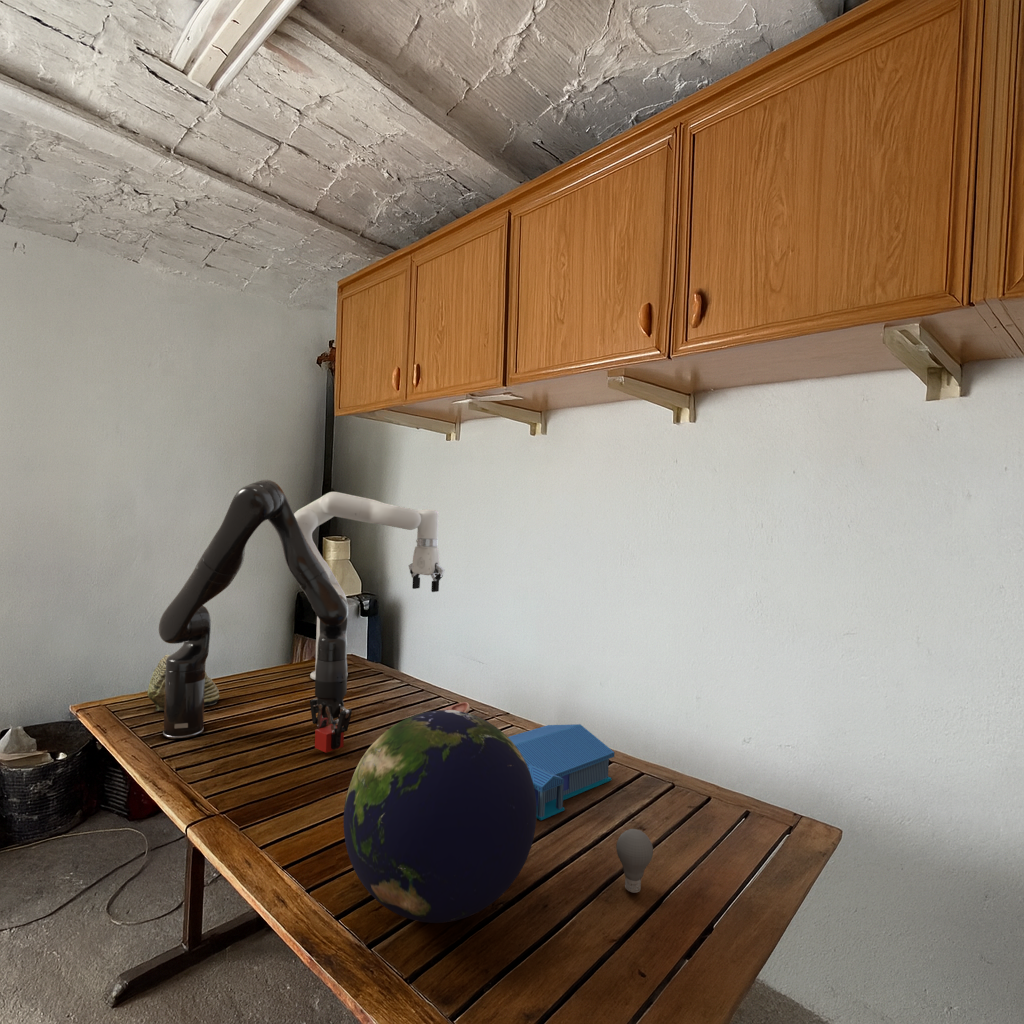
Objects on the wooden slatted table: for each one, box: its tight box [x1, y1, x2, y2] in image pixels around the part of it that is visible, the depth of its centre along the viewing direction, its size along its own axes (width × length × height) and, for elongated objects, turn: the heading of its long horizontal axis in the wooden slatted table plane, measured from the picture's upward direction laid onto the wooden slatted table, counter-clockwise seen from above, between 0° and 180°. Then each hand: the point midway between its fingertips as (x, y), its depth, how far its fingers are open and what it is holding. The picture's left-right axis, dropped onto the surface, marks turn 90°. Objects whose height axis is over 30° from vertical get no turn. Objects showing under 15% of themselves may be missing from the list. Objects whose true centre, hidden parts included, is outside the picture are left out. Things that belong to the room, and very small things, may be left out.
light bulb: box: [615, 828, 654, 894], centre depth 106 cm, size 6×6×10 cm
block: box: [314, 724, 345, 754], centre depth 156 cm, size 4×5×4 cm
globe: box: [343, 709, 537, 924], centre depth 100 cm, size 30×30×30 cm
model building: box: [507, 723, 615, 821], centre depth 141 cm, size 39×24×10 cm, turn 132°
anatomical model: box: [436, 701, 470, 713], centre depth 184 cm, size 13×4×12 cm
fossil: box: [147, 654, 221, 712], centre depth 185 cm, size 9×18×15 cm, turn 132°
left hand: (329, 745), depth 156 cm, fingers closed on block, 4 cm apart
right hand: (425, 590), depth 231 cm, fingers open, 9 cm apart
